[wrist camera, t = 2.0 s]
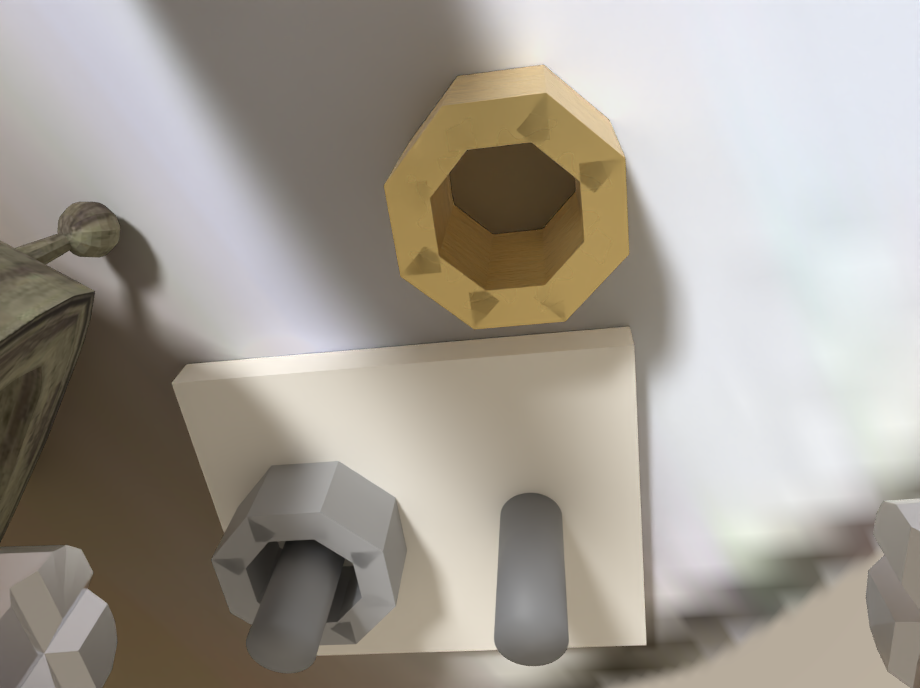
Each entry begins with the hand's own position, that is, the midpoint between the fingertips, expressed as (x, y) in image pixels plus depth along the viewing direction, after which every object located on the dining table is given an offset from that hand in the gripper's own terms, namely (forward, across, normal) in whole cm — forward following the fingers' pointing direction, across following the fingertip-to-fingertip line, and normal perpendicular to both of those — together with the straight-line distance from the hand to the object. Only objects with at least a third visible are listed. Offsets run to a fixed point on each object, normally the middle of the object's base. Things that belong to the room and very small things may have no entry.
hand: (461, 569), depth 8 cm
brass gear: (+15, 0, 0) cm, 15 cm away
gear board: (+15, +4, +11) cm, 19 cm away
